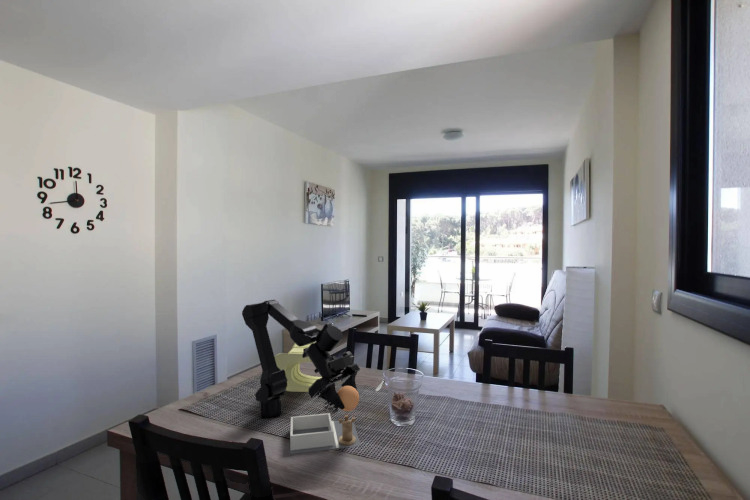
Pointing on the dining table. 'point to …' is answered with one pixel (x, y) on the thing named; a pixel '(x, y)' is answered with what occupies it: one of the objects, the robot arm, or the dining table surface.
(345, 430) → the ball tee
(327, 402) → the creature
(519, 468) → the dining table surface
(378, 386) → the fork
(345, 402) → the ball
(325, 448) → the grey flat plate
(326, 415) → the tray
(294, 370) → the slatted curved stool
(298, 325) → the robot arm
